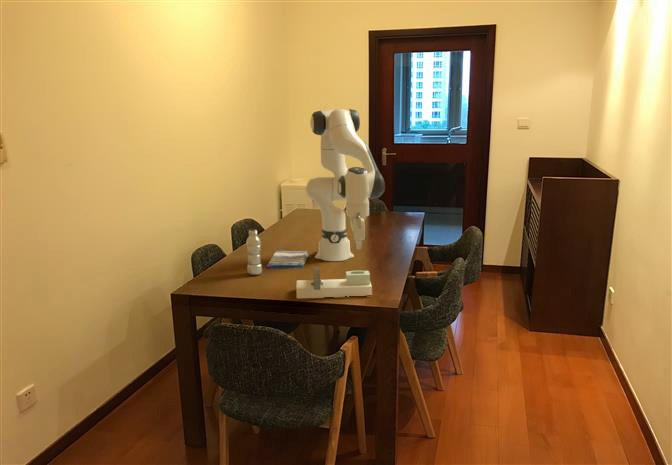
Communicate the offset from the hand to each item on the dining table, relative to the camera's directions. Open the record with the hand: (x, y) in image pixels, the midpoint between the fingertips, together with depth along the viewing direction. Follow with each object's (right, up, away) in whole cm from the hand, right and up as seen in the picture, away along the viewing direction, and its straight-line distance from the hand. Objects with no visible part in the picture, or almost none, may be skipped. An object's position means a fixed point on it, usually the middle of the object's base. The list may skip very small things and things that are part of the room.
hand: (357, 245), depth 208 cm
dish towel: (-31, -9, +48) cm, 58 cm away
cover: (0, -15, +3) cm, 15 cm away
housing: (-9, -19, +4) cm, 21 cm away
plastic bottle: (-44, -13, +29) cm, 54 cm away
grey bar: (-16, -15, +3) cm, 22 cm away
